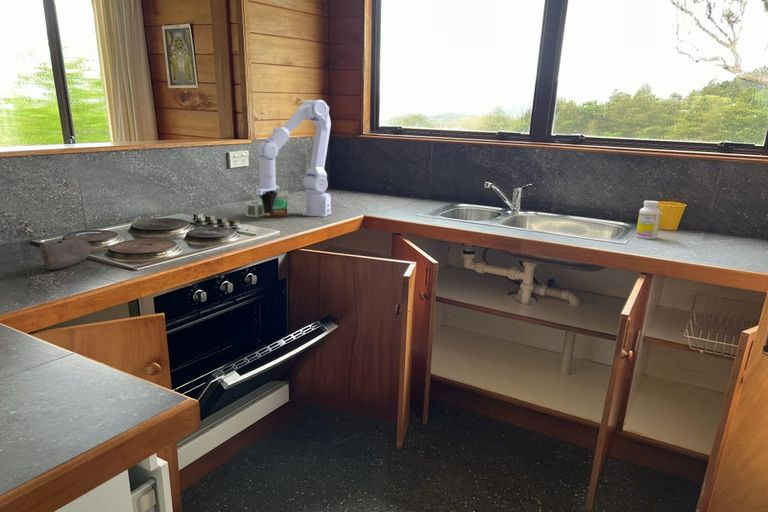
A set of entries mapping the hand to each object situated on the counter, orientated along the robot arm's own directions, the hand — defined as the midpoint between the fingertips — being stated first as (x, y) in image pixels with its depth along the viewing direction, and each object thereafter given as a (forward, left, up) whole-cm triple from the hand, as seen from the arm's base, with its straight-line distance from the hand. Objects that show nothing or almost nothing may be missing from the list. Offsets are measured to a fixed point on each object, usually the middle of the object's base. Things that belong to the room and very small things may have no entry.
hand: (268, 211), depth 198 cm
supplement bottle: (-135, -23, -3) cm, 137 cm away
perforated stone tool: (+19, +73, -3) cm, 75 cm away
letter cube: (+9, -5, -3) cm, 11 cm away
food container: (-1, -7, -3) cm, 7 cm away
